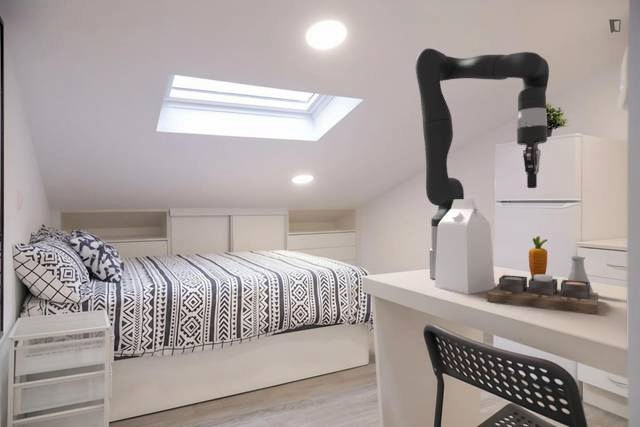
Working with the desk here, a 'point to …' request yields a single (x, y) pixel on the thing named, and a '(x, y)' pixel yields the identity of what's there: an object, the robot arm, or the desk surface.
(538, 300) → the button board
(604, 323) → the desk surface
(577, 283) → the terracotta button
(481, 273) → the milk
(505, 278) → the sage button
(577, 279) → the flask
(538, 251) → the carrot
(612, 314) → the desk surface
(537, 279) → the grey button
